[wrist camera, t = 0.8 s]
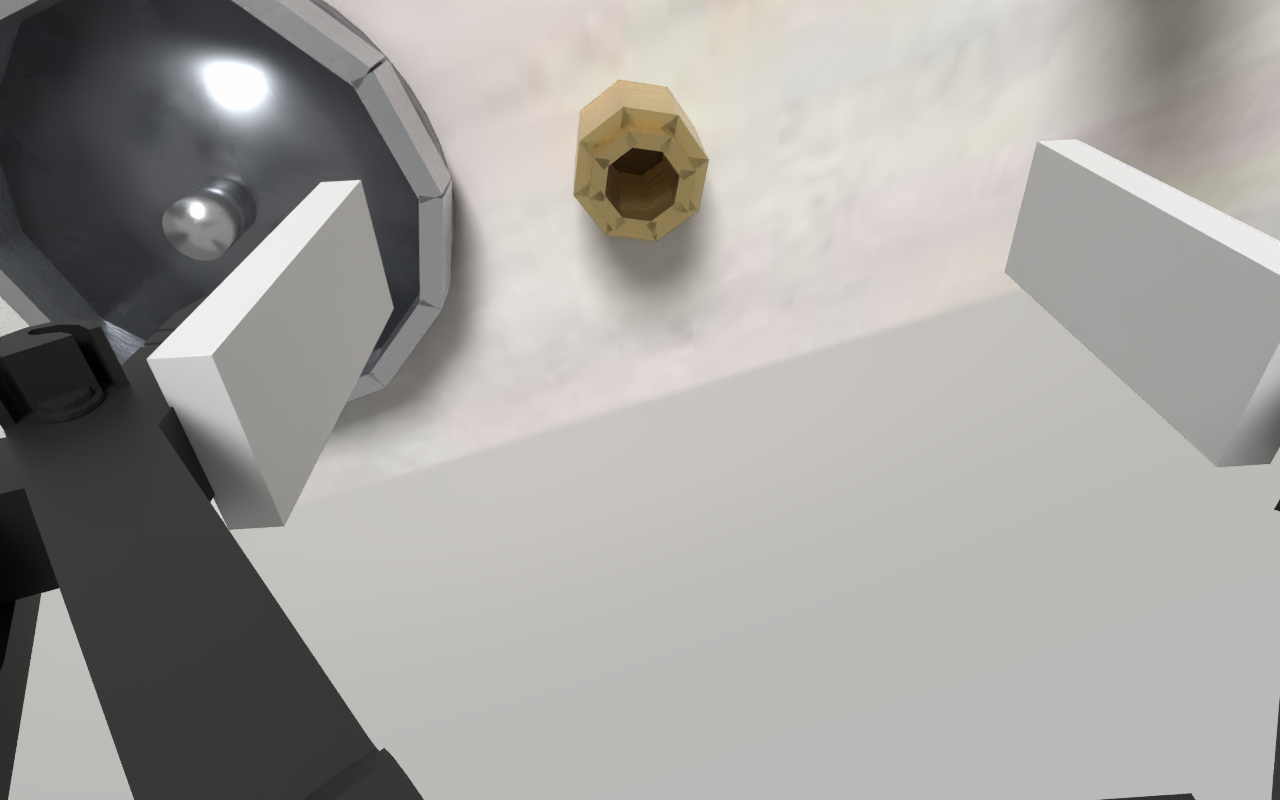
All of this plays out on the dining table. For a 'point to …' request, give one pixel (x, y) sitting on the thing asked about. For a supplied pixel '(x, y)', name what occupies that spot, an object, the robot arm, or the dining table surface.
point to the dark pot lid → (203, 158)
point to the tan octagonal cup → (630, 198)
